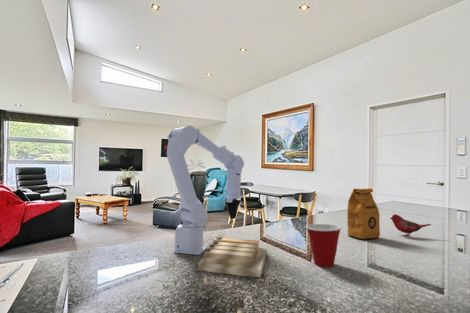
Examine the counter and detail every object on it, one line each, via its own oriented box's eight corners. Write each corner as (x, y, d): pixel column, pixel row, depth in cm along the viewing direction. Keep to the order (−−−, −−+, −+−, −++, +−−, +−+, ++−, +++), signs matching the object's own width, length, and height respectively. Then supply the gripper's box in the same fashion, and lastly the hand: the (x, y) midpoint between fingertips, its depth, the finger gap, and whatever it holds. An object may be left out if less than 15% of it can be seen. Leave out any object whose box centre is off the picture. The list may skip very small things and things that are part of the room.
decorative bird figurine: (388, 234, 117) (388, 213, 117) (429, 237, 114) (429, 215, 115) (391, 236, 114) (391, 214, 114) (433, 238, 111) (433, 216, 112)
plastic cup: (315, 255, 86) (315, 220, 86) (347, 264, 78) (347, 225, 79) (298, 263, 78) (298, 224, 79) (332, 273, 70) (332, 231, 71)
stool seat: (197, 270, 71) (198, 251, 71) (216, 249, 89) (217, 234, 90) (260, 277, 67) (260, 257, 67) (266, 254, 85) (267, 238, 86)
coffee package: (384, 239, 108) (383, 189, 109) (361, 241, 105) (360, 189, 106) (365, 233, 118) (365, 187, 119) (344, 235, 114) (344, 187, 115)
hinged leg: (213, 248, 84) (213, 238, 84) (215, 245, 87) (216, 236, 87) (257, 252, 80) (257, 241, 81) (258, 249, 83) (258, 239, 84)
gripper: (239, 185, 93) (238, 222, 93) (246, 184, 107) (245, 215, 107) (221, 185, 95) (220, 221, 94) (230, 183, 109) (229, 214, 108)
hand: (232, 218), depth 101 cm, fingers closed
